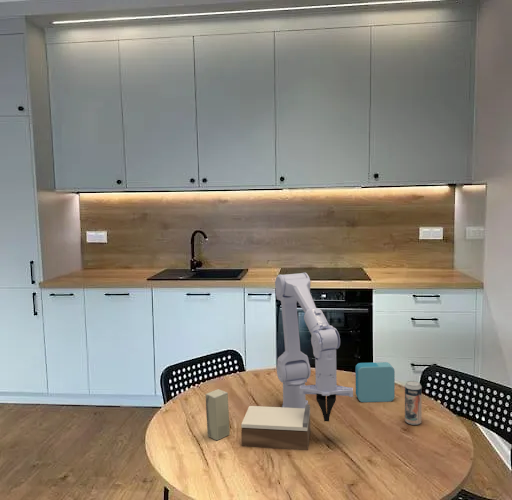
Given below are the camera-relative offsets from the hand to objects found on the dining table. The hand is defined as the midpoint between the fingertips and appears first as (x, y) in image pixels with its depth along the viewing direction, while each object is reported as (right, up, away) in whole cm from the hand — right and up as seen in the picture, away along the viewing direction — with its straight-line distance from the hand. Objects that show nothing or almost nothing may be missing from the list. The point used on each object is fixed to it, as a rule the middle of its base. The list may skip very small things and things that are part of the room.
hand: (326, 419), depth 134 cm
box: (-30, -7, +5) cm, 32 cm away
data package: (+20, -3, +27) cm, 34 cm away
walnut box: (-14, -6, +3) cm, 15 cm away
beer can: (+27, -4, +10) cm, 29 cm away
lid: (-14, -1, +3) cm, 14 cm away
